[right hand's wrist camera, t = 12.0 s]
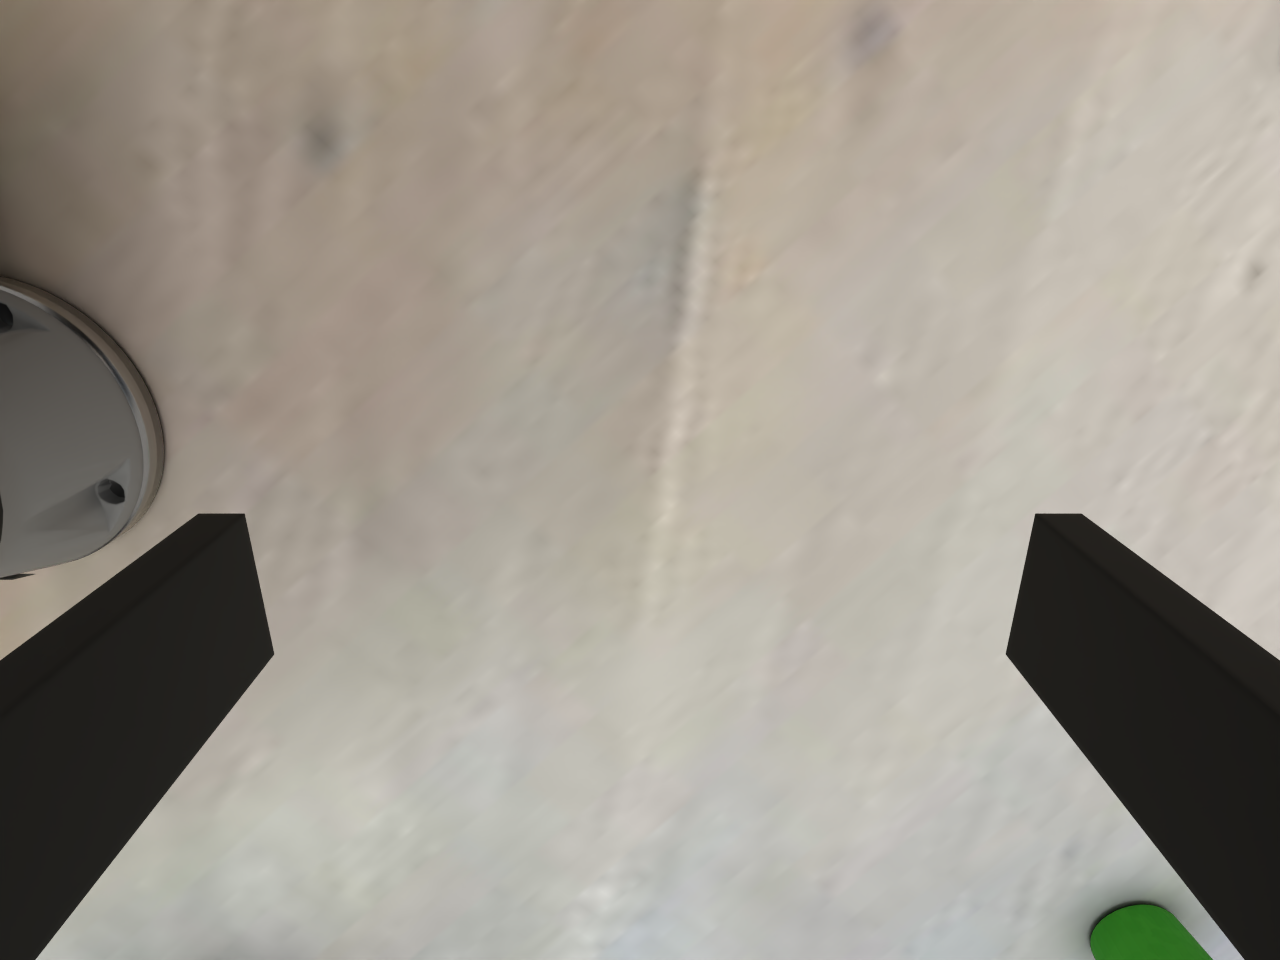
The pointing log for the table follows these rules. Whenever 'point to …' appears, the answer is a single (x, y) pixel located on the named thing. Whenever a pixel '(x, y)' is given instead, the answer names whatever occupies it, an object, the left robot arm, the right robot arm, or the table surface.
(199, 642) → the right robot arm
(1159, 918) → the potted flower
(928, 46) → the table surface
